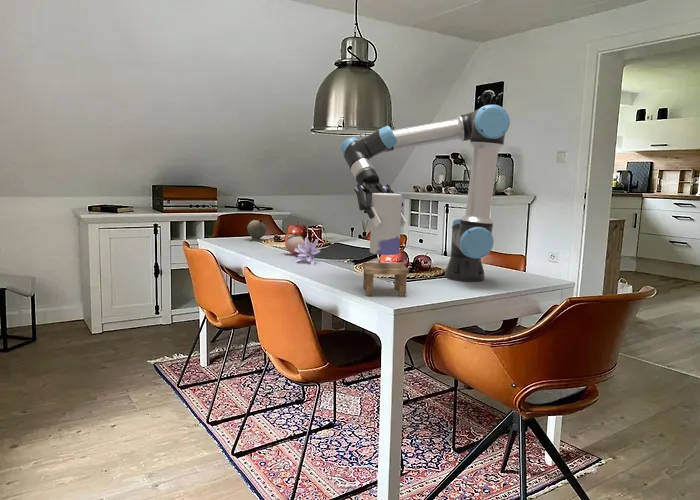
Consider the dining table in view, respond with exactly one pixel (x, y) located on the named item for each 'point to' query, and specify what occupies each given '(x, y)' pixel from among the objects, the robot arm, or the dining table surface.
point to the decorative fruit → (293, 243)
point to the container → (386, 224)
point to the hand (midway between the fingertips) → (391, 224)
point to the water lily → (307, 251)
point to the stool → (385, 268)
